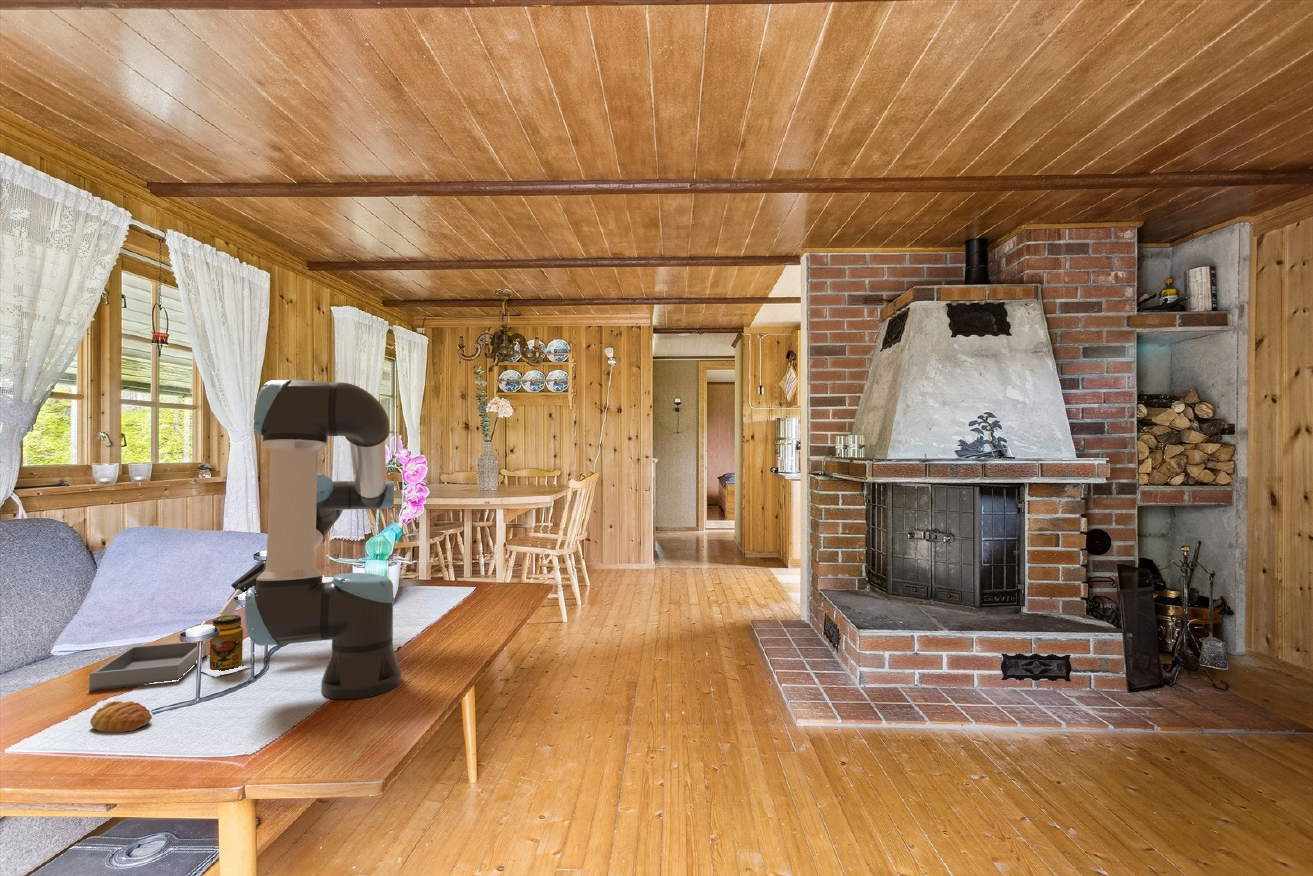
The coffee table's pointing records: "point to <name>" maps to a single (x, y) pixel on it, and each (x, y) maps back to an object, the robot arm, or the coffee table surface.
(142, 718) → the pastry
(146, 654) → the tray
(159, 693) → the coffee table surface
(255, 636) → the robot arm
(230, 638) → the condiment
